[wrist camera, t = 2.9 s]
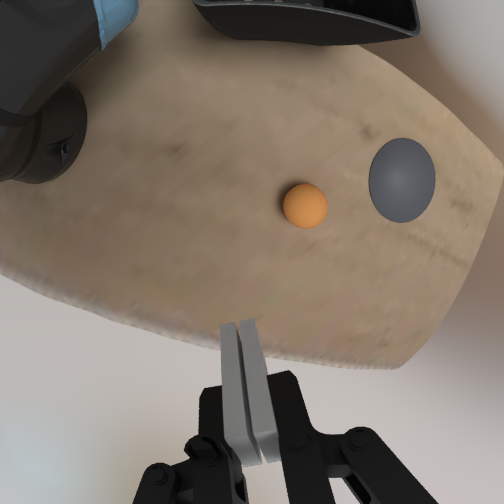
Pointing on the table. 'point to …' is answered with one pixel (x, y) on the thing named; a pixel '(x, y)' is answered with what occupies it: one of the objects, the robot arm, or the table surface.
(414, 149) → the disc
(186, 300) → the table surface
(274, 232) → the table surface
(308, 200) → the ball
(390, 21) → the flower pot
